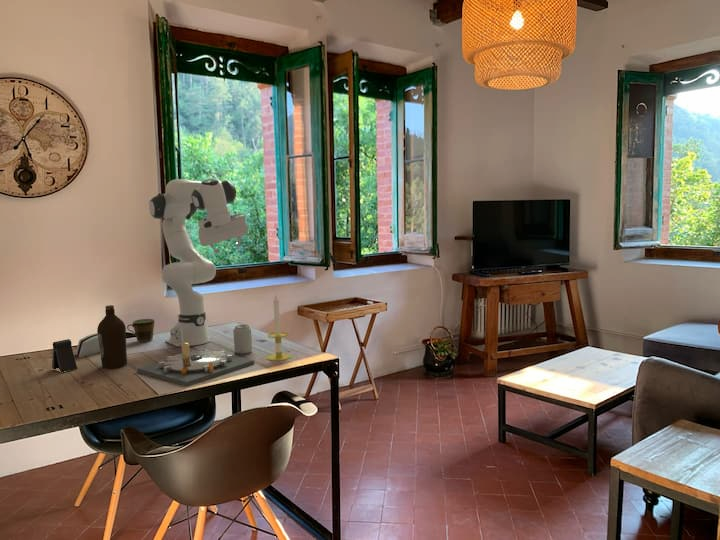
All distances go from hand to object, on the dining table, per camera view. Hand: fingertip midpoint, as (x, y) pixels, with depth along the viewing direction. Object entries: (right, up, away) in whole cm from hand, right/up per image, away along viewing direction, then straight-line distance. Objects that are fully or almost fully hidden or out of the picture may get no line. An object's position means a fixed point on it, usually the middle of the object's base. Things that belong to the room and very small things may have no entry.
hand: (227, 250), depth 230 cm
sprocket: (-10, -46, -12) cm, 48 cm away
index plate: (-10, -47, -12) cm, 50 cm away
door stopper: (-64, -49, -8) cm, 81 cm away
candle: (+22, -45, 0) cm, 50 cm away
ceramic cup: (-51, -43, +37) cm, 76 cm away
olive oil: (-46, -48, -4) cm, 66 cm away
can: (+4, -45, +10) cm, 46 cm away
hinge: (-64, -46, +19) cm, 81 cm away
